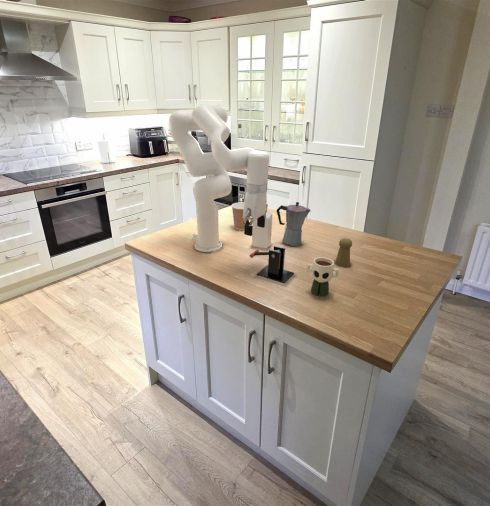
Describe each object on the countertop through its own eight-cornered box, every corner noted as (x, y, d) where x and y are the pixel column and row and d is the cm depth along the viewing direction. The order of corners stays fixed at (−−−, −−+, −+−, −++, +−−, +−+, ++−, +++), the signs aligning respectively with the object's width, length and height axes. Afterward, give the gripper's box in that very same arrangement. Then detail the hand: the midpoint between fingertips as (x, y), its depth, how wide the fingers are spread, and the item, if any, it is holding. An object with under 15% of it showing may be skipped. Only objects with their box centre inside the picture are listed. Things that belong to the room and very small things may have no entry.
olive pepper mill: (341, 268, 142) (345, 243, 138) (332, 261, 147) (335, 238, 143) (353, 265, 145) (357, 240, 140) (342, 259, 150) (346, 235, 145)
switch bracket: (256, 277, 135) (257, 249, 130) (267, 267, 142) (268, 241, 137) (284, 285, 129) (286, 257, 124) (294, 275, 136) (296, 248, 131)
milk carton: (270, 244, 163) (272, 205, 155) (266, 250, 157) (268, 210, 149) (256, 242, 165) (257, 203, 157) (251, 247, 159) (252, 208, 151)
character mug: (302, 295, 123) (305, 263, 118) (306, 286, 129) (309, 254, 124) (333, 302, 120) (338, 269, 114) (336, 292, 126) (341, 260, 120)
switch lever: (250, 259, 136) (248, 253, 135) (256, 254, 140) (255, 248, 139) (277, 258, 129) (276, 252, 128) (283, 253, 133) (282, 247, 132)
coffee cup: (233, 223, 187) (233, 201, 182) (252, 224, 186) (252, 202, 180) (229, 230, 178) (229, 207, 173) (249, 231, 177) (250, 209, 171)
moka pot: (308, 247, 160) (313, 205, 152) (275, 246, 161) (277, 205, 152) (305, 239, 169) (309, 199, 160) (274, 238, 169) (276, 198, 161)
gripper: (259, 180, 134) (257, 222, 142) (235, 191, 121) (234, 236, 129) (276, 183, 131) (273, 226, 139) (254, 195, 118) (251, 241, 125)
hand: (254, 230), depth 134 cm, fingers open, 9 cm apart
